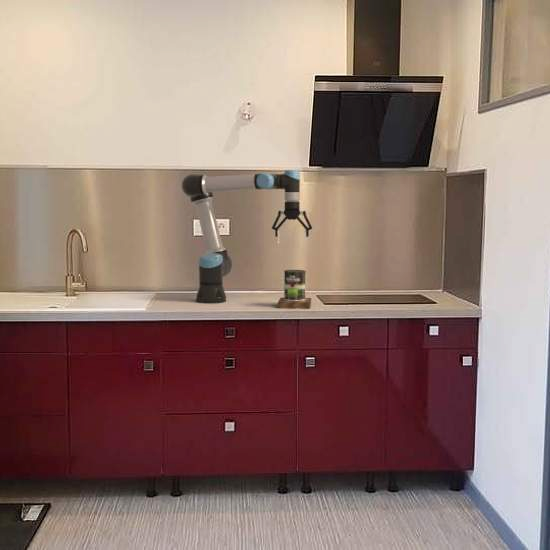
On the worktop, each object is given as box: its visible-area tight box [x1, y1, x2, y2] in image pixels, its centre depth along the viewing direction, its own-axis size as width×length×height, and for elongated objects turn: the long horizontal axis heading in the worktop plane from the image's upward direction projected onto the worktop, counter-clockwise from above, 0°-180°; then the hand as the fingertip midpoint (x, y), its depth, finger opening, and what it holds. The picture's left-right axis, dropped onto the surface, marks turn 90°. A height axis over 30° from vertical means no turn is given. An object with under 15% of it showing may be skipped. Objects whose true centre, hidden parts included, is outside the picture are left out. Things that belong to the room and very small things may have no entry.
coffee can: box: [283, 269, 307, 301], centre depth 345 cm, size 10×10×14 cm
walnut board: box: [277, 296, 312, 310], centre depth 346 cm, size 15×15×3 cm
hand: (291, 243), depth 363 cm, fingers open, 13 cm apart
